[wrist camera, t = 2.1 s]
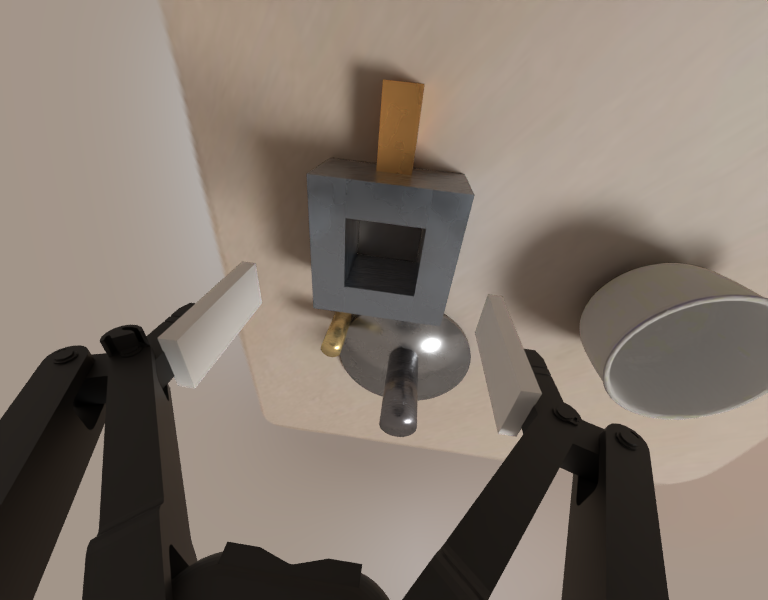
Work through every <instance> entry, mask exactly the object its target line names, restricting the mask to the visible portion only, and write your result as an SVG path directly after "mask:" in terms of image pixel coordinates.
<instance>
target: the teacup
mask: <svg viewBox="0 0 768 600" xmlns="http://www.w3.org/2000/svg"><path fill="white" fill-rule="evenodd" d="M579 330H580V338H581V342H582V345H583V347H584V349H585V352H586V354H587V355H588V357H589V359H590V361H591V363H592V365H593V366H594V368H595V370H596V371H597V373H598V375H599V376H600V378H601V379H602V381H603V384H604V387H605V389H606V391H607V393H608V394H609V396H610V397H611V398H612V399H613V400H614V401H615V402H616V403H617V404H618V405H620V406H621V407H623V408H624V409H626V410H629V411H630V412H633V413H636V414H638V415H642V416H646V417H650V418H658V419H666V420H671V419H673V420H681V419H693V418H699V417H705V416H711V415H716V414H719V413H723V412H727V411H730V410H732V409H735V408H738V407H740V406H743V405H745V404H747V403H750V402H752V401H754V400H756V399H758V398H759V397H761V396H763V395H765V394H766V393H768V298H764V297H762V296H761V295H759V294H757V293H755V292H754V291H752V290H750V289H748V288H746V287H744V286H742V285H741V284H739V283H737V282H735V281H733V280H731V279H729V278H727V277H725V276H723V275H720V274H718V273H716V272H713V271H711V270H708V269H705V268H702V267H698V266H694V265H689V264H682V263H662V264H654V265H648V266H644V267H640V268H637V269H634V270H631V271H629V272H626V273H624V274H622V275H620V276H618V277H616V278H614V279H613V280H611V281H610V282H608V283H607V284H605V285H604V286H603V287H602V288H600V289H599V290H598V291H597V292H596V293H595V294H594V295H593V297H592V298H591V299H590V300H589V302H588V303H587V305H586V306H585V308H584V311H583V313H582V316H581V319H580V329H579Z"/></svg>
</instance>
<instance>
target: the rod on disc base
mask: <svg viewBox="0 0 768 600" xmlns="http://www.w3.org/2000/svg"><path fill="white" fill-rule="evenodd" d="M340 357H341V361H342V363H343V366H344V368H345V369H346V371H347V373H348V374H349V375H350V376H351V378H352V379H354V380H355V381H356V382H357V383H358V384H359V385H361V386H362V387H363V388H365V389H367V390H368V391H370V392H372V393H374V394H377V395H380V396H383V402H382V409H381V416H380V423H379V425H380V428H381V429H382V430H383V431H384V432H385V433H387V434H389V435H392V436H397V437H405V436H409V435H411V434H413V433H414V432H415V431H416V428H417V400H425V399H430V398H434V397H437V396H440V395H442V394H444V393H446V392H448V391H449V390H451V389H453V388H454V387H455V386H456V385H458V384H459V383H460V382H461V380H462V379H463V378H464V376H465V375H466V373H467V371H468V369H469V365H470V358H471V355H470V348H469V343H468V340H467V338H466V336H465V334H464V332H463V331H462V329H461V328H460V327H459V326H458V325H457V324H456V323H455V322H454V321H453V320H452V319H451V318H449V317H448V316H447V315H445V314H443V318H442V322H441V326H434V325H427V324H420V323H413V322H406V321H399V320H393V319H386V318H379V317H372V316H365V315H358V316H356V317H355V318H354V319H353V320H352V321H351V323H350V326H349V329H348V332H347V335H346V338H345V341H344V344H343V347H342V350H341V353H340Z"/></svg>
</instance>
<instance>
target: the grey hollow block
mask: <svg viewBox="0 0 768 600" xmlns="http://www.w3.org/2000/svg"><path fill="white" fill-rule="evenodd" d="M423 92H424V84H419V83H410V82H401V81H392V80H383V86H382V100H381V114H380V127H379V141H378V155H377V164H376V163H368V162H360V161H352V160H344V159H336V158H330V159H328V160H327V161H325V162H324V163H322V164H321V165H319V166H318V167H316V168H315V169H313V170H312V171H310V172H309V173H307V192H308V211H309V230H310V249H311V269H312V288H313V307H314V308H317V309H323V310H330V311H337V312H344V313H351V314H358V315H365V316H372V317H379V318H386V319H393V320H399V321H406V322H413V323H420V324H427V325H434V326H441V322H442V318H443V314H444V311H445V307H446V303H447V299H448V295H449V291H450V287H451V284H452V280H453V276H454V272H455V268H456V264H457V260H458V256H459V253H460V249H461V245H462V241H463V237H464V233H465V229H466V226H467V222H468V218H469V214H470V210H471V206H472V202H473V199H474V193H473V191H472V189H471V187H470V185H469V183H468V180H467V178H466V176H465V174H458V173H450V172H441V171H433V170H425V169H417V168H413V165H414V157H415V150H416V143H417V135H418V128H419V121H420V114H421V106H422V99H423ZM359 220H364V221H371V222H379V223H387V224H394V225H402V226H409V227H417V228H422V231H421V237H420V243H419V248H418V254H417V260H416V262H412V261H405V260H397V259H390V258H383V257H375V256H368V255H361V254H358V241H359Z"/></svg>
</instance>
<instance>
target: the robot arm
mask: <svg viewBox="0 0 768 600" xmlns="http://www.w3.org/2000/svg"><path fill="white" fill-rule="evenodd" d="M261 304H262V299H261V293H260V287H259V281H258V275H257V268H256V263H251V262H244V261H242V262H241V263H240V264H239V265H238V266H237V267H236V268H235V269H233V270H232V271H231V272H230V273H229V274H228V275H227V276H226V277H225V278H223V279H222V280H221V281H220V282H219V283H218V284H217V285H216V286H215V287H213V288H212V289H211V290H210V291H209V292H208V293H207V294H206V295H205V296H204V297H202V298H201V299H200V300H199V301H198V302H197V303H196V304H195V303H189V304H187V305H185V306H183V307H181V308H179V309H178V310H177V311H176V312H174V313H173V314H172V315H171V317H168V318H167V319H166V320H165V322H163V323H162V324H160V325H159V326H158V327H157V328H156V329H155V330H153V331H152V332H151V333H150V334H149V335H148V336H146V335H145V333H144V331H143V329H142V327H140V326H138V325H125V326H121V327H117V328H114V329H112V330H110V331H108V332H107V333H105V334H104V335H103V336H102V337H101V339H100V343H101V344H102V346H103V348H104V350H105V351H106V353H105V354H94V355H91V354H90V352H89V350H88V349H87V348H86V347H84V346H70V347H65V348H63V349H59V350H57V351H55V352H53V353H52V354H50V355H48V356H47V357H46V358H45V359H44V360H43V361H42V362H41V364H40V365H39V367H38V368H37V369H36V371H35V372H34V373H33V375H32V376H31V378H30V379H29V381H28V382H27V383H26V385H25V386H24V387H23V389H22V390H21V392H20V393H19V394H18V396H17V397H16V399H15V400H14V401H13V403H12V404H11V405H10V407H9V408H8V410H7V411H6V412H5V414H4V415H3V417H2V418H1V420H0V600H33V598H34V595H35V593H36V591H37V588H38V586H39V583H40V581H41V578H42V576H43V573H44V571H45V569H46V566H47V564H48V561H49V559H50V556H51V554H52V551H53V549H54V547H55V544H56V542H57V539H58V537H59V534H60V532H61V529H62V527H63V524H64V522H65V520H66V517H67V514H68V512H69V510H70V507H71V505H72V502H73V500H74V497H75V495H76V493H77V490H78V488H79V485H80V482H81V480H82V478H83V475H84V473H85V470H86V468H87V466H88V463H89V460H90V458H91V456H92V453H93V451H94V448H95V446H96V443H97V441H98V438H99V436H100V434H101V431H102V429H103V426H104V424H105V434H104V451H103V468H102V486H101V503H100V521H99V532H98V535H97V537H95V538H94V539H92V540H90V542H89V545H88V547H87V552H86V559H85V573H84V584H83V596H82V600H389V598H388V597H387V595H386V594H385V593H384V591H383V590H382V589H381V588H380V587H379V586H378V585H377V584H376V583H375V582H374V581H373V580H372V579H370V578H369V577H367V576H366V575H364V574H362V573H361V569H362V564H357V563H352V562H346V561H339V560H334V559H324V560H318V561H312V562H306V563H300V564H289V563H287V562H285V561H283V560H281V559H280V558H278V557H276V556H274V555H273V554H271V553H269V552H267V551H266V550H264V549H262V548H260V547H255V546H250V545H244V544H238V543H232V542H227V544H226V546H225V549H224V551H223V552H219V553H216V554H213V555H210V556H208V557H205V558H203V559H200V560H199V561H197V558H196V554H195V551H194V548H193V545H192V541H191V536H190V529H189V522H188V515H187V507H186V500H185V493H184V486H183V479H182V472H181V464H180V458H179V449H178V442H177V435H176V428H175V420H174V413H173V406H172V399H171V392H170V387H169V385H168V383H169V382H170V380H171V379H172V378H173V377H174V378H175V380H176V382H177V384H178V386H183V387H189V388H196V387H197V385H198V384H199V383H200V381H201V380H202V379H203V378H204V376H205V375H206V374H207V372H208V371H209V370H210V369H211V367H212V366H213V365H214V363H215V362H216V361H217V360H218V359H219V357H220V356H221V355H222V353H223V352H224V351H225V350H226V348H227V347H228V346H229V344H230V343H231V342H232V341H233V339H234V338H235V337H236V336H237V334H238V333H239V332H240V331H241V329H242V328H243V327H244V325H245V324H246V323H247V322H248V320H249V319H250V318H251V317H252V315H253V314H254V313H255V311H256V310H257V309H258V308H259V306H260V305H261ZM475 335H476V339H477V343H478V348H479V352H480V356H481V361H482V365H483V370H484V374H485V378H486V383H487V387H488V391H489V396H490V400H491V404H492V409H493V413H494V418H495V422H496V426H497V431H498V434H503V435H510V436H516V437H517V435H518V433H519V432H520V430H521V428H522V431H523V436H522V437H521V438H520V440H519V441H518V443H517V444H516V445H515V447H514V448H513V449H512V451H511V452H510V454H509V455H508V456H507V458H506V459H505V461H504V462H503V463H502V465H501V466H500V467H499V469H498V470H497V472H496V473H495V474H494V476H493V477H492V479H491V480H490V481H489V483H488V484H487V485H486V487H485V488H484V490H483V491H482V492H481V494H480V495H479V497H478V498H477V499H476V501H475V502H474V503H473V505H472V506H471V508H470V509H469V510H468V512H467V513H466V514H465V516H464V518H463V519H462V520H461V521H460V523H459V524H458V526H457V527H456V528H455V530H454V531H453V533H452V534H451V535H450V537H449V538H448V539H447V541H446V542H445V544H444V545H443V546H442V547H441V549H440V550H439V551H438V552H437V553H436V554H435V555H434V557H433V558H432V560H431V561H430V562H429V564H428V565H427V566H426V568H425V569H424V570H423V572H422V573H421V575H420V576H419V577H418V579H417V580H416V582H415V583H414V584H413V586H412V587H411V588H410V590H409V591H408V593H407V594H406V595H405V597H404V598H403V599H402V600H488V599H489V597H490V595H491V593H492V591H493V589H494V588H495V586H496V584H497V582H498V580H499V579H500V576H501V575H502V573H503V571H504V569H505V567H506V565H507V564H508V562H509V560H510V558H511V556H512V554H513V552H514V551H515V549H516V547H517V545H518V543H519V541H520V540H521V538H522V536H523V534H524V532H525V531H526V528H527V527H528V525H529V523H530V521H531V519H532V518H533V516H534V514H535V512H536V510H537V508H538V506H539V505H540V503H541V501H542V499H543V497H544V495H545V494H546V492H547V490H548V488H549V486H550V484H551V483H552V481H553V479H554V477H555V475H556V473H557V471H558V470H559V468H562V469H565V470H567V471H569V472H571V473H573V482H572V493H571V504H570V514H569V525H568V537H567V547H566V558H565V569H564V580H563V590H562V600H669V597H668V589H667V581H666V574H665V566H664V559H663V551H662V543H661V536H660V529H659V520H658V513H657V505H656V499H655V491H654V482H653V475H652V467H651V459H650V452H649V448H648V446H647V444H646V442H645V441H644V440H643V438H642V437H641V436H640V435H638V434H637V433H636V432H635V431H633V430H632V429H630V428H628V427H627V426H624V425H621V424H610V425H608V426H607V427H606V428H605V429H603V428H600V427H598V426H595V425H593V424H590V423H588V422H586V421H583V420H582V419H581V417H580V415H579V414H578V413H577V411H576V410H575V409H573V408H572V407H571V406H570V405H568V404H566V403H564V402H563V400H562V398H561V396H560V394H559V391H558V389H557V387H556V385H555V383H554V381H553V379H552V377H551V374H550V372H549V370H548V369H547V366H546V364H545V362H544V359H543V358H542V357H541V356H540V355H539V354H538V353H537V352H536V351H535V350H529V349H523V346H522V344H521V341H520V339H519V336H518V334H517V331H516V329H515V327H514V324H513V322H512V319H511V317H510V314H509V312H508V309H507V307H506V305H505V302H504V300H503V297H502V296H497V295H489V294H488V296H487V299H486V302H485V305H484V308H483V311H482V314H481V317H480V320H479V322H478V325H477V328H476V331H475Z"/></svg>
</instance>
